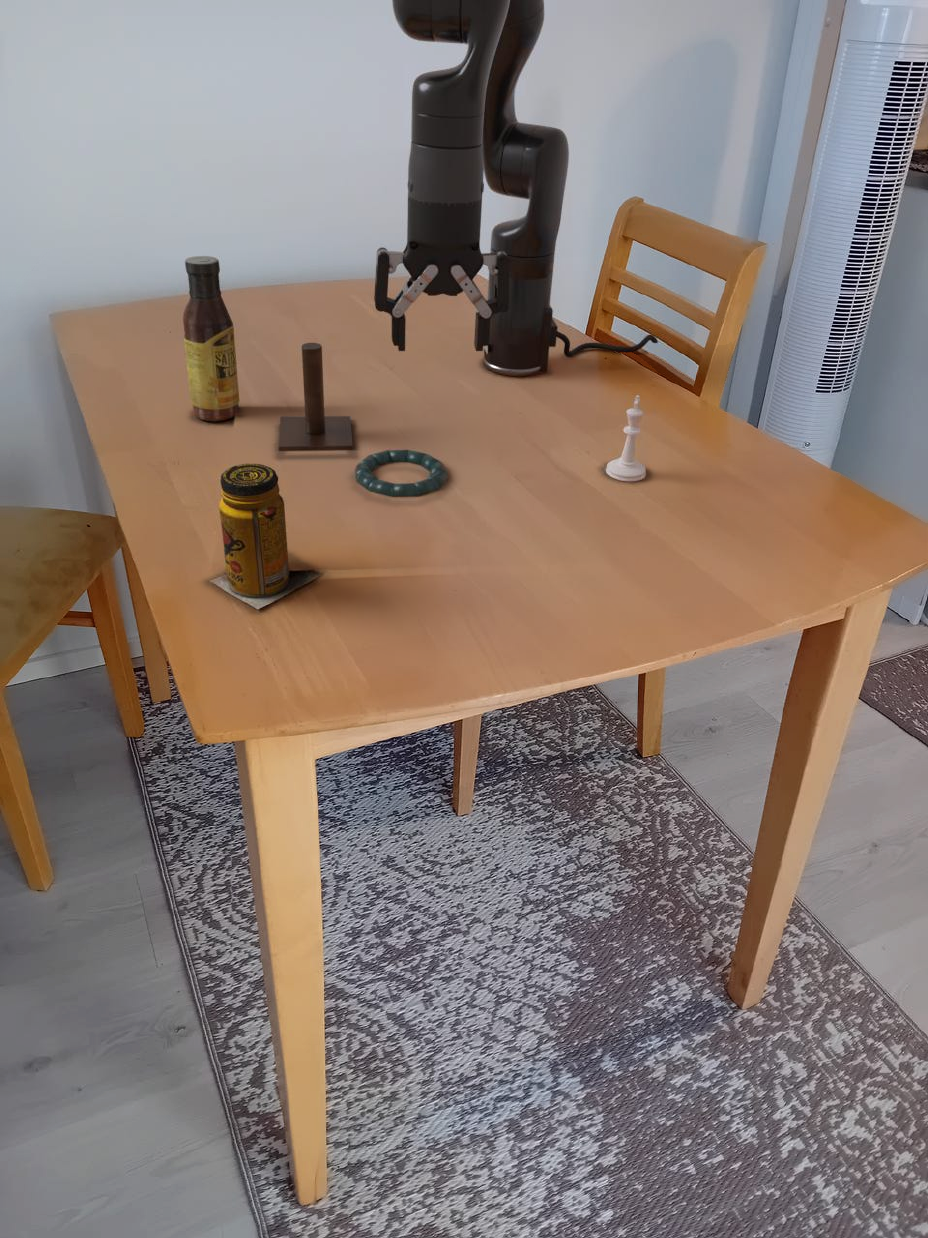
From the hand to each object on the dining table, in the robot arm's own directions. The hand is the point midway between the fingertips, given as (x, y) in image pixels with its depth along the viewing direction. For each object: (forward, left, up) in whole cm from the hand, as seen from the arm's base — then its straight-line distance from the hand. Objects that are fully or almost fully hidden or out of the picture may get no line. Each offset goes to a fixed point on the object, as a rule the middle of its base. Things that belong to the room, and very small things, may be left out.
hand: (439, 348), depth 107 cm
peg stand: (+14, -11, -16) cm, 24 cm away
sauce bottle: (+27, -20, -17) cm, 38 cm away
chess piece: (-24, -1, -17) cm, 29 cm away
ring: (+4, 0, -15) cm, 16 cm away
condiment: (+19, +21, -17) cm, 33 cm away
